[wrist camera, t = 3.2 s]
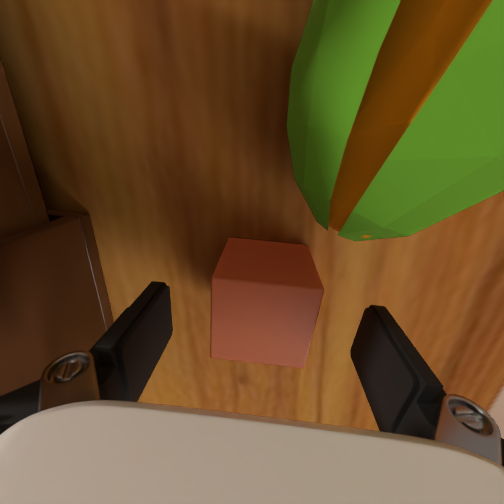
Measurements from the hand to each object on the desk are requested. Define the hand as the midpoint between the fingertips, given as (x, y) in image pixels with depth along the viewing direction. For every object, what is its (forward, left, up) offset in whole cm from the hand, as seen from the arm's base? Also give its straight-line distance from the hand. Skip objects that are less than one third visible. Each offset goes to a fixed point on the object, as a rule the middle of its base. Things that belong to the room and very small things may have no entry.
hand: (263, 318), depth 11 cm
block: (0, 0, -4) cm, 3 cm away
